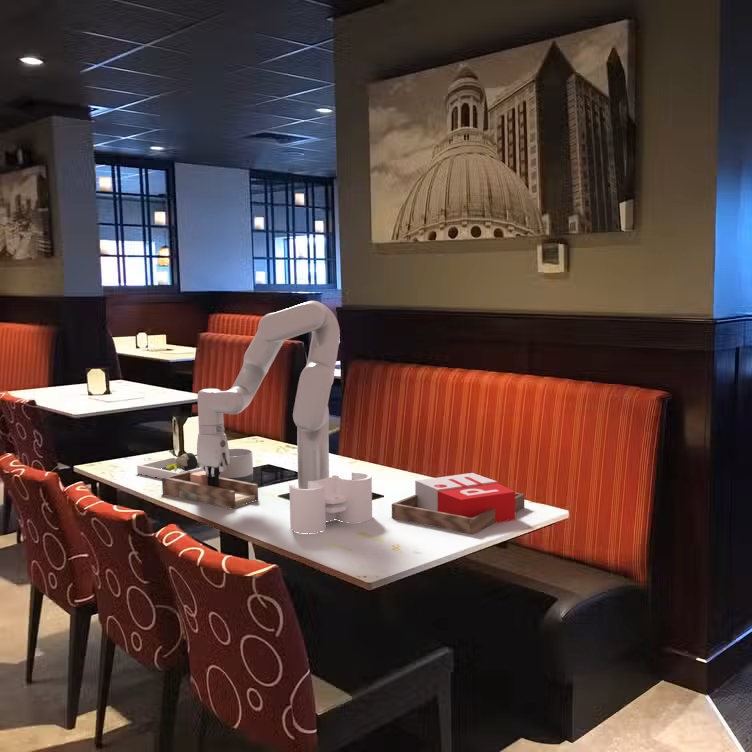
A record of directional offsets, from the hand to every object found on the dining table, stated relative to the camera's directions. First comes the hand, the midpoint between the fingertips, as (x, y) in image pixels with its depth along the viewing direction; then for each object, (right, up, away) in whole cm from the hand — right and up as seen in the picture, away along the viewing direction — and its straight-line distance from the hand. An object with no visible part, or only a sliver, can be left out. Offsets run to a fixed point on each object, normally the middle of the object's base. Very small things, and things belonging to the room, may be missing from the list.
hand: (213, 488), depth 253 cm
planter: (+3, -1, +17) cm, 18 cm away
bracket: (+38, -6, -27) cm, 47 cm away
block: (-4, -1, +3) cm, 5 cm away
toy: (-19, +1, +32) cm, 38 cm away
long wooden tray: (-2, -3, +2) cm, 4 cm away
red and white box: (+76, -5, -18) cm, 78 cm away
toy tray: (-19, +1, +32) cm, 38 cm away
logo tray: (+74, -5, -18) cm, 76 cm away
